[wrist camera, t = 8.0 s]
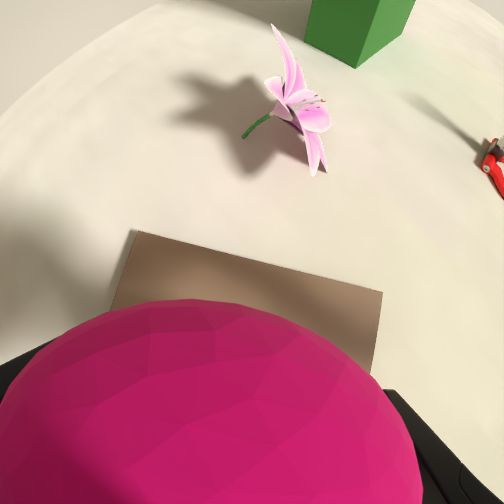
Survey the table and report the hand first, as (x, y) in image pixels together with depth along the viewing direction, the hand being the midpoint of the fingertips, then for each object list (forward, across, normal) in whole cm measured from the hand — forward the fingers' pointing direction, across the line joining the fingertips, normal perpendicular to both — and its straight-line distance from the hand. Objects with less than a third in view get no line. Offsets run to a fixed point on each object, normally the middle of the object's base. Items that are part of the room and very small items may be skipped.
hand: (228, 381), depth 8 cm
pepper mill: (+7, 0, +9) cm, 11 cm away
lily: (+23, -2, -5) cm, 24 cm away
